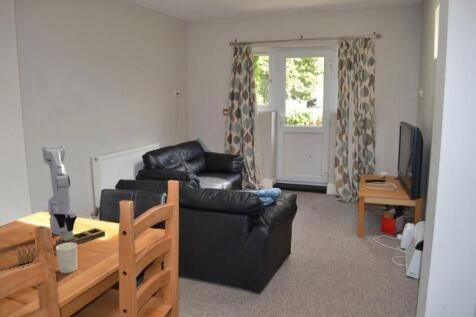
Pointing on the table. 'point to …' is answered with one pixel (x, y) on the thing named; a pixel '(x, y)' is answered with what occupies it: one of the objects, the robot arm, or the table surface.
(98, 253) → the table surface
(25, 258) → the ammunition clip
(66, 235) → the metal peg
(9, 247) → the table surface
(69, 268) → the white cup
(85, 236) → the beige slotted frame
